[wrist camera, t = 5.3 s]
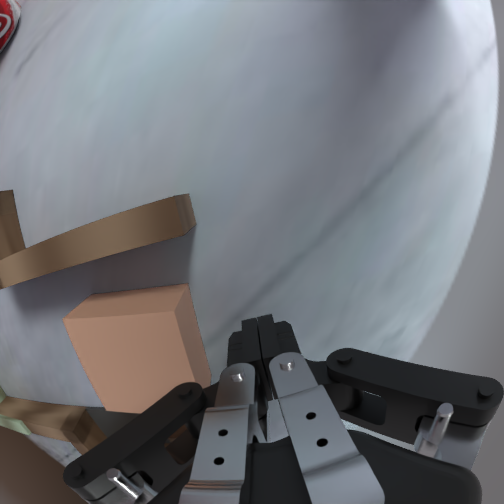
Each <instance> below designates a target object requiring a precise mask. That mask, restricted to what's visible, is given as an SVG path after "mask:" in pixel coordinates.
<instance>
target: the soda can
mask: <svg viewBox="0 0 504 504" xmlns="http://www.w3.org/2000/svg"><path fill="white" fill-rule="evenodd" d="M20 13H21V6H20V5H19V4H18V3H17V2H16V1H15V0H0V53H1V52H2V50H3V49H4V48H5V46H6V45H7V43H8V42H9V40H10V39H11V37H12V35H13V33H14V31H15V29H16V27H17V24H18V20H19V17H20Z"/></svg>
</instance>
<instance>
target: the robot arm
mask: <svg viewBox="0 0 504 504" xmlns="http://www.w3.org/2000/svg"><path fill="white" fill-rule="evenodd" d="M257 319H258V322H257ZM271 389H272V390H271ZM364 391H366V392H364ZM272 392H273V396H274V399H278V401H279V404H280V408H281V411H282V415H283V418H284V421H285V425H286V428H287V431H288V435H289V436H288V437H286V438H283V439H281V440H278V441H276V442H272V443H270V424H269V412H268V401H270V400H273V396H272ZM367 392H369V393H367ZM370 393H372V394H370ZM374 394H375V395H374ZM377 395H378V396H377ZM503 395H504V391H503V387H502V385H501V384H500V383H499V382H498V381H497V380H495V379H493V378H489V377H482V376H476V375H470V374H464V373H458V372H453V371H448V370H442V369H437V368H432V367H428V366H423V365H418V364H414V363H409V362H405V361H400V360H396V359H392V358H388V357H384V356H380V355H376V354H372V353H368V352H364V351H360V350H357V349H352V348H343V349H339V350H336V351H334V352H332V353H331V354H330V355H329V356H328V357H327V360H326V361H320V362H315V361H310V360H307V359H305V358H304V357H303V356H302V355H301V352H300V350H299V347H298V344H297V341H296V338H295V336H294V333H293V330H292V327H291V325H290V324H289V323H287V322H286V321H281V322H277V323H274V321H273V317H272V314H268V315H264V316H260V317H257V318H251V319H247V320H243V321H242V331H238V332H233V334H232V335H231V336H230V338H229V342H228V359H227V368H226V369H225V370H223V372H222V373H221V375H220V380H219V382H217V383H216V384H213V385H211V386H208V387H206V388H202V386H201V385H200V384H198V383H196V382H186V383H182V384H180V385H178V386H176V387H175V388H173V389H172V390H171V391H170V392H168V393H167V394H166V395H164V396H163V397H162V398H161V399H159V400H158V401H157V402H155V403H154V404H153V405H151V406H150V407H149V408H148V409H146V410H145V411H144V412H142V413H141V414H140V415H138V416H137V417H136V418H134V419H133V420H132V421H130V422H129V423H127V424H126V425H125V426H123V427H122V428H121V429H119V430H118V431H116V432H115V433H114V434H112V435H111V436H109V437H108V438H107V439H105V440H104V441H102V442H101V443H99V444H98V445H97V446H95V447H94V448H92V449H91V450H89V451H88V452H86V453H85V454H83V455H82V456H80V457H79V458H77V459H76V460H74V461H73V462H71V463H70V464H69V465H68V466H67V467H66V468H65V470H64V473H63V478H64V481H65V483H66V484H67V485H68V486H69V487H70V488H71V489H73V490H74V491H75V492H76V493H78V494H79V495H80V497H82V498H83V499H84V500H85V501H87V502H88V503H89V504H481V501H482V489H481V485H480V482H479V480H478V478H477V477H476V476H475V474H474V473H472V472H471V468H472V466H473V463H474V461H475V458H476V456H477V454H478V451H479V448H480V445H481V442H482V440H483V437H484V433H485V431H486V430H487V428H488V426H489V424H490V422H491V420H492V419H493V417H494V415H495V413H496V411H497V409H498V407H499V405H500V403H501V400H502V398H503ZM380 396H381V397H380ZM341 419H343V420H346V421H348V422H351V423H353V424H356V425H358V426H361V427H363V428H366V429H368V430H371V431H374V432H377V433H379V434H382V435H385V436H388V437H391V438H394V439H397V440H400V441H403V442H406V443H409V444H413V445H414V449H415V451H416V452H413V451H411V450H407V449H405V448H402V447H400V446H397V445H394V444H391V443H389V442H386V441H384V440H381V439H379V438H376V437H374V436H371V435H369V434H366V433H364V432H360V431H356V430H347V429H346V428H345V426H344V424H343V422H342V420H341ZM184 424H185V426H186V428H187V429H186V430H185V431H184V432H183V433H182V434H181V435H179V436H178V437H177V438H176V439H175V440H174V441H173V442H171V443H170V444H169V445H168V446H167V447H165V446H164V444H165V441H166V440H167V439H168V438H169V437H170V436H171V435H172V434H173V433H175V432H176V431H177V430H178V429H179V428H180V427H182V426H183V425H184Z"/></svg>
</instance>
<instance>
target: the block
mask: <svg viewBox="0 0 504 504" xmlns="http://www.w3.org/2000/svg"><path fill="white" fill-rule="evenodd" d="M62 320H63V322H64V325H65V327H66V330H67V332H68V335H69V337H70V340H71V342H72V344H73V347H74V349H75V351H76V354H77V356H78V358H79V360H80V362H81V364H82V366H83V368H84V370H85V372H86V374H87V376H88V378H89V380H90V382H91V384H92V386H93V388H94V390H95V392H96V393H97V395H98V397H99V399H100V400H101V402H102V404H103V406H104V407H105V409H106V411H114V412H126V413H142V412H144V411H145V410H146V409H148V408H149V407H150V406H151V405H153V404H154V403H155V402H157V401H158V400H159V399H161V398H162V397H163V396H164V395H166V394H167V393H168V392H170V391H171V390H172V389H173V388H175V387H176V386H178V385H180V384H182V383H186V382H196V383H198V384H200V385H201V386H202V388H206V387H208V386H210V383H211V372H210V368H209V365H208V361H207V358H206V354H205V350H204V347H203V343H202V339H201V335H200V331H199V327H198V323H197V319H196V315H195V311H194V307H193V302H192V298H191V294H190V289H189V285H188V283H185V284H177V285H169V286H161V287H153V288H144V289H136V290H127V291H118V292H109V293H100V294H91V295H90V296H89V297H88V298H86V299H85V300H84V301H83V302H82V303H80V304H79V305H78V306H77V307H76V308H74V309H73V310H72V311H71V312H70V313H69V314H67V315H66V316H65V317H64V318H63V319H62Z"/></svg>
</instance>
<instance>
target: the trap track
mask: <svg viewBox="0 0 504 504" xmlns="http://www.w3.org/2000/svg"><path fill="white" fill-rule="evenodd" d="M195 225H196V220H195V216H194V212H193V208H192V204H191V200H190V196H189V194H183V195H177V196H173V197H169V198H166V199H162V200H159V201H156V202H152V203H149V204H146V205H143V206H139V207H136V208H133V209H130V210H127V211H124V212H121V213H118V214H115V215H112V216H109V217H106V218H103V219H100V220H97V221H95V222H92V223H89V224H86V225H84V226H81V227H78V228H76V229H73V230H70V231H68V232H65V233H63V234H60V235H57V236H55V237H52V238H50V239H48V240H45V241H43V242H40V243H38V244H36V245H33V246H31V247H29V248H25V245H24V241H23V237H22V233H21V229H20V225H19V221H18V216H17V211H16V206H15V201H14V195H13V190H7V191H0V289H3V288H6V287H9V286H12V285H15V284H18V283H21V282H24V281H27V280H30V279H33V278H36V277H39V276H43V275H46V274H49V273H52V272H55V271H59V270H62V269H65V268H68V267H72V266H75V265H78V264H82V263H85V262H88V261H92V260H95V259H99V258H102V257H106V256H109V255H113V254H116V253H120V252H123V251H127V250H131V249H134V248H138V247H142V246H145V245H149V244H153V243H156V242H160V241H164V240H168V239H172V238H175V237H179V236H183V235H185V234H186V233H187V232H188V231H189V230H190V229H192V228H193V227H194V226H195ZM140 414H141V413H126V412H114V411H106V409H105V408H104V407H84V406H70V405H60V404H51V403H44V402H37V401H30V400H24V399H19V398H14V397H9V396H6V394H5V393H4V391H3V390H2V388H1V387H0V425H1V426H4V427H6V428H9V429H12V430H15V431H18V432H21V433H24V434H27V435H30V434H31V433H34V434H38V435H41V436H45V437H49V438H53V439H58V440H62V441H67V442H71V443H72V445H73V446H74V447H75V448H76V449H77V450H78V451H79V452H80V453H81V454H82V455H83V454H85V453H86V452H88V451H89V450H91V449H92V448H94V447H95V446H97V445H98V444H99V443H101V442H102V441H104V440H105V439H107V438H108V437H109V436H111V435H112V434H114V433H115V432H116V431H118V430H119V429H121V428H122V427H123V426H125V425H126V424H127V423H129V422H130V421H132V420H133V419H134V418H136V417H137V416H138V415H140ZM186 429H187V428H186V426H185V424H184V425H183V426H182V427H180V428H179V429H178V430H177V431H176V432H175V433H173V434H172V435H171V436H170V437H169V438H168V439H167V440H166V441H165V444H164V446H165V447H167V446H168V445H169V444H170V443H171V442H173V441H174V440H175V439H176V438H177V437H178V436H179V435H181V434H182V433H183V432H184V431H185V430H186Z"/></svg>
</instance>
